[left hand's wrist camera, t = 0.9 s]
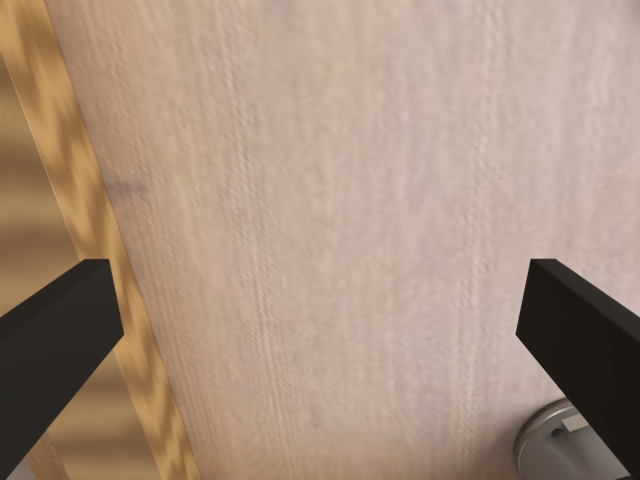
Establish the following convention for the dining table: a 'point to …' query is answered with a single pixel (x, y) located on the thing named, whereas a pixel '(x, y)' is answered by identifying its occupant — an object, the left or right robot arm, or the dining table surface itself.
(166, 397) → the wide beam
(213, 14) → the dining table surface
